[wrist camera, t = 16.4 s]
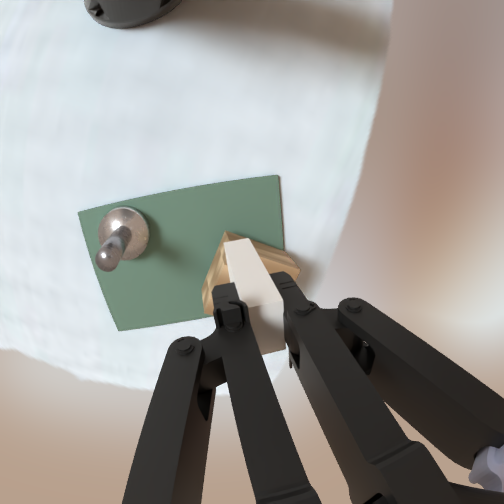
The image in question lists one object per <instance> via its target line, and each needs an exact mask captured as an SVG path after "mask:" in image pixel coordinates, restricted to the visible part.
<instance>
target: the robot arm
mask: <svg viewBox="0 0 504 504" xmlns="http://www.w3.org/2000/svg"><path fill="white" fill-rule="evenodd" d="M181 1H182V0H84V4H85V7H86V10H87V12H88V13H89V14H90V15H91V17H92V18H93V19H94V20H95V21H96V22H98V23H99V24H101V25H104V26H107V27H112V28H128V27H134V26H139V25H142V24H146V23H149V22H151V21H154V20H156V19H158V18H160V17H162V16H163V15H165V14H167V13H168V12H170V11H171V10H172V9H174V8H175V7H176V6H177V5H178V4H179V3H180V2H181ZM224 248H225V254H226V260H227V266H228V272H229V277H230V283H226V284H221V285H216V286H214V288H213V290H212V292H211V293H212V299H213V305H214V309H213V315H214V320H215V324H216V329H215V331H214V332H213V333H212V334H211V335H210V336H208V337H207V338H205V339H202V340H199V339H197V338H195V337H190V336H187V337H181V338H179V339H177V340H175V341H174V342H173V343H171V345H170V346H169V348H168V351H167V354H166V357H165V360H164V363H163V365H162V368H161V371H160V374H159V377H158V380H157V383H156V387H155V390H154V393H153V396H152V399H151V402H150V405H149V408H148V412H147V415H146V418H145V421H144V425H143V428H142V431H141V435H140V438H139V442H138V445H137V448H136V452H135V456H134V460H133V463H132V466H131V470H130V474H129V478H128V481H127V485H126V489H125V493H124V497H123V501H122V504H201V499H202V491H203V483H204V475H205V467H206V460H207V451H208V444H209V436H210V429H211V422H212V415H213V407H214V400H215V393H216V387H217V386H219V385H221V384H223V383H225V382H227V384H228V388H229V393H230V398H231V402H232V407H233V411H234V416H235V420H236V424H237V429H238V433H239V437H240V441H241V445H242V449H243V453H244V457H245V461H246V465H247V469H248V473H249V477H250V480H251V484H252V487H253V491H254V495H255V499H256V504H322V503H321V501H320V499H319V497H318V494H317V493H316V491H315V490H314V489H313V487H312V486H311V484H310V483H309V481H308V478H307V476H306V473H305V471H304V468H303V465H302V463H301V460H300V458H299V455H298V453H297V450H296V447H295V445H294V442H293V439H292V437H291V434H290V432H289V429H288V426H287V424H286V421H285V418H284V416H283V413H282V410H281V408H280V405H279V402H278V399H277V397H276V394H275V391H274V389H273V386H272V383H271V380H270V377H269V375H268V372H267V369H266V366H265V363H264V361H263V358H262V355H264V354H268V353H272V352H276V351H280V350H284V349H286V343H287V345H288V347H289V366H290V368H292V364H293V366H294V368H295V371H296V373H297V375H298V377H299V379H300V381H301V384H302V386H303V388H304V390H305V393H306V395H307V397H308V399H309V401H310V403H311V406H312V408H313V410H314V412H315V415H316V417H317V419H318V421H319V423H320V426H321V428H322V430H323V432H324V434H325V436H326V439H327V441H328V443H329V445H330V447H331V449H332V451H333V454H334V456H335V458H336V460H337V462H338V464H339V467H340V468H341V471H342V473H343V475H344V477H345V479H346V482H347V484H348V487H349V495H350V499H351V501H352V504H504V398H502V397H501V396H500V395H498V394H497V393H496V392H494V391H493V390H492V389H490V388H489V387H488V386H486V385H485V384H483V383H482V382H480V381H479V380H478V379H477V378H475V377H474V376H472V375H471V374H470V373H468V372H467V371H466V370H464V369H463V368H461V367H460V366H458V365H457V364H456V363H454V362H453V361H452V360H450V359H449V358H447V357H446V356H445V355H443V354H442V353H440V352H439V351H437V350H436V349H435V348H433V347H432V346H430V345H429V344H427V343H426V342H425V341H423V340H422V339H420V338H419V337H417V336H416V335H414V334H413V333H412V332H410V331H409V330H407V329H406V328H404V327H403V326H401V325H400V324H399V323H397V322H395V321H394V320H393V319H391V318H390V317H388V316H387V315H385V314H384V313H382V312H381V311H379V310H378V309H376V308H375V307H373V306H372V305H371V304H369V303H367V302H366V301H364V300H362V299H359V298H347V299H344V300H342V301H341V302H340V303H339V305H338V308H337V309H322V308H319V306H318V305H317V304H316V303H314V302H312V301H308V300H307V299H306V297H305V296H304V294H303V293H302V291H301V290H300V289H299V287H298V286H297V284H296V283H295V282H294V280H293V278H292V277H291V275H289V274H288V273H286V272H284V271H281V272H276V273H271V274H269V273H268V272H267V270H266V268H265V266H264V264H263V263H262V261H261V259H260V257H259V255H258V254H257V252H256V250H255V248H254V246H253V245H252V243H251V241H250V239H249V238H246V239H240V240H235V241H230V242H224ZM285 341H286V343H285ZM364 341H365V342H366V343H365V342H364ZM384 402H386V403H387V404H388V405H389V406H390V407H391V408H392V409H393V410H394V411H396V412H397V413H398V414H399V415H400V416H401V417H402V418H403V419H405V420H406V421H407V422H408V423H409V424H410V425H411V426H412V427H413V428H415V429H416V430H417V431H418V432H419V433H420V434H421V435H423V436H424V437H425V438H426V439H427V440H428V441H429V442H430V443H432V444H433V445H434V446H435V447H436V448H438V449H439V450H440V451H441V452H442V453H443V454H444V455H445V456H447V457H448V458H449V459H451V460H452V461H453V462H455V463H457V464H458V465H460V466H462V467H464V468H467V469H470V470H472V471H471V473H470V474H469V481H470V482H471V483H473V484H475V483H478V484H480V485H481V486H482V487H483V488H484V489H479V488H474V487H469V486H464V485H460V484H456V483H452V482H448V481H447V479H446V477H445V476H444V474H443V472H442V471H441V469H440V468H439V466H438V465H437V463H436V461H435V460H434V458H433V457H432V455H431V454H430V452H429V451H428V449H427V448H426V447H425V446H424V445H423V444H422V443H420V442H418V441H411V440H409V439H408V438H407V436H406V435H405V433H404V432H403V430H402V429H401V427H400V426H399V424H398V422H397V421H396V419H395V418H394V416H393V415H392V413H391V412H390V410H389V409H388V407H387V406H386V404H385V403H384Z"/></svg>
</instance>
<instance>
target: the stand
mask: <svg viewBox="0 0 504 504" xmlns="http://www.w3.org/2000/svg"><path fill="white" fill-rule="evenodd" d="M149 237H150V225H149V222H148V220H147V218H146V216H145V215H144V214H143V213H142V212H141V211H140V210H138V209H137V208H135V207H132V206H127V205H123V206H118V207H116V208H114V209H112V210H111V211H110V212H108V213H107V214H106V215H105V216H104V217H103V219H102V220H101V222H100V225H99V228H98V238H99V242H100V245H101V248H100V249H99V251H98V252H97V254H96V256H95V262H96V264H97V266H98V267H99V268H100V269H101V270H102V271H105V272H111V271H113V270H115V269H116V267H117V265H118V263H119V262H120V260H123V261H126V260H132V259H134V258H136V257H138V256H139V255H140V254H141V253H142V252H143V251H144V250H145V248H146V246H147V243H148V241H149Z"/></svg>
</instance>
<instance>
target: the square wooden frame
mask: <svg viewBox="0 0 504 504" xmlns="http://www.w3.org/2000/svg"><path fill="white" fill-rule="evenodd" d="M240 239H246V238H245V237H243V236H240V235H237V234H234V233H231V232H228V231H226V230H225V232H224V234H223V237H222V239H221V242H220V244H219V246H218V249H217V251H216V254H215V256H214V259H213V261H212V264H211V266H210V269H209V271H208V274H207V276H206V279H205V281H204V284H203V286H202V289H201V290H202V299H203V308H204V313H205V314H209V315H213V309H214V305H213V299H212V293H211V292H212V290H213V288H214V286H216V285H221V284H226V283H230V277H229V272H228V266H227V260H226V254H225V248H224V242H230V241H235V240H240ZM250 241H251V243H252V245H253V246H254V248H255V250H256V252H257V254H258V255H259V257H260V259H261V261H262V263H263V264H264V266H265V268H266V270H267V272H268V273H269V274H271V273H276V272H281V271H284V272H286V273H288V274H289V275H291V277H292V278H293V280H294V282H295V280H296V278H297V277H298V275H299V273H300V271H301V270H300V269H299V267H298V266H297V265H296V264H295V263H294V262H293V260H292V259H291V258H290V257H289V256H288V254H287V253H286V252H285V251H282V250H279V249H276V248H274V247H271V246H268V245H265V244H262V243H260V242H257V241H254V240H251V239H250ZM213 316H214V315H213Z"/></svg>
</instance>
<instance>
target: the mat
mask: <svg viewBox="0 0 504 504" xmlns="http://www.w3.org/2000/svg"><path fill="white" fill-rule="evenodd" d="M123 205H127V206H132V207H135V208H137V209H138V210H140V211H141V212H142V213H143V214H144V215H145V216H146V218H147V220H148V222H149V225H150V237H149V241H148V243H147V246H146V248H145V250H144V251H143V252H142V253H141V254H140V255H139V256H138V257H136V258H134V259H132V260H126V261H123V260H120V262H119V263H118V265H117V267H116V269H115V270H113V271H111V272H105V271H102V270H101V269H100V268H99V267H98V266H97V264H96V262H95V256H96V254H97V252H98V251H99V249H100V248H101V245H100V242H99V238H98V228H99V225H100V222H101V220H102V219H103V217H104V216H105V215H106V214H107V213H108V212H110V211H111V210H112V209H114V208H116V207H118V206H123ZM78 216H79V220H80V223H81V227H82V231H83V234H84V238H85V241H86V245H87V248H88V251H89V255H90V258H91V261H92V264H93V267H94V270H95V273H96V276H97V279H98V281H99V284H100V287H101V290H102V292H103V295H104V298H105V300H106V303H107V305H108V308H109V310H110V313H111V315H112V317H113V320H114V322H115V324H116V327H117V329H118V331H124V330H131V329H138V328H145V327H152V326H159V325H165V324H171V323H177V322H183V321H189V320H195V319H200V318H206V317H211V316H213V315H209V314H205V313H204V308H203V299H202V290H201V289H202V286H203V284H204V281H205V279H206V276H207V274H208V271H209V269H210V266H211V264H212V261H213V259H214V256H215V254H216V251H217V249H218V246H219V244H220V242H221V239H222V237H223V234H224V232H225V230H226V231H228V232H231V233H234V234H237V235H240V236H243V237H245V238H249V239H252V240H254V241H257V242H260V243H262V244H265V245H268V246H271V247H274V248H276V249H279V250H282V251H284V250H283V234H282V220H281V206H280V193H279V181H278V175H271V176H263V177H255V178H248V179H240V180H233V181H226V182H220V183H214V184H207V185H201V186H195V187H190V188H184V189H179V190H173V191H168V192H163V193H158V194H153V195H148V196H143V197H139V198H134V199H130V200H125V201H121V202H117V203H112V204H108V205H104V206H100V207H96V208H92V209H88V210H84V211H81V212H78Z"/></svg>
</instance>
